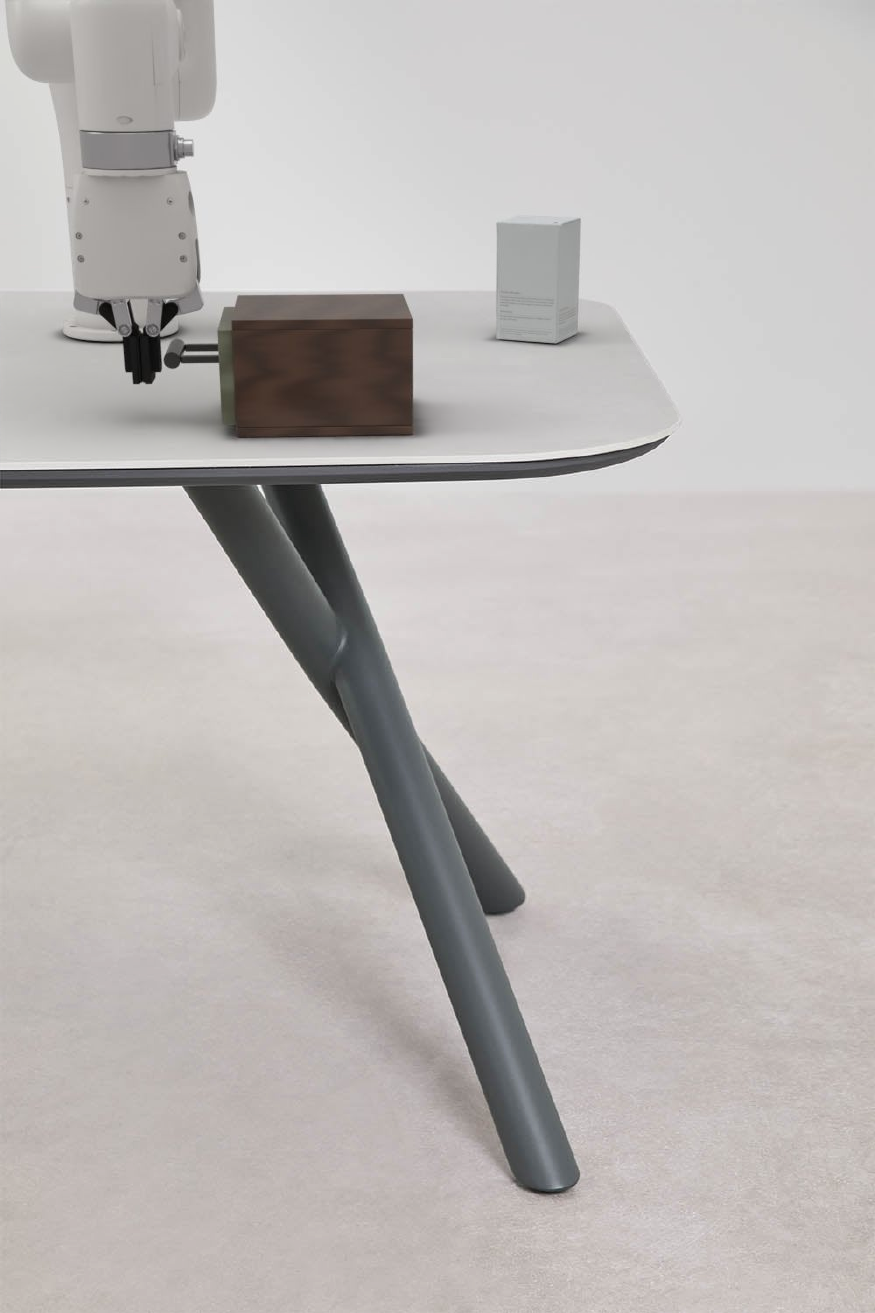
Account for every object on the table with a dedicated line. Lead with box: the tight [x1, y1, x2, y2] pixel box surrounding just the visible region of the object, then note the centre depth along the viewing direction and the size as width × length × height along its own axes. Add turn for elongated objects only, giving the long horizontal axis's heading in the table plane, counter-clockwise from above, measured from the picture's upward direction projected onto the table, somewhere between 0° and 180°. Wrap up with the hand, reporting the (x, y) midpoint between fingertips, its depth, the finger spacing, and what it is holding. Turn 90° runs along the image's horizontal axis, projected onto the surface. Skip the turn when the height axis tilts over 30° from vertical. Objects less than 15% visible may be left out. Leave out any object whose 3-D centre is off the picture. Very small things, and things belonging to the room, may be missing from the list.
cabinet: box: [231, 293, 414, 438], centre depth 128 cm, size 15×13×10 cm
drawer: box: [163, 306, 236, 426], centre depth 128 cm, size 18×11×8 cm, turn 95°
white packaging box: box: [495, 214, 582, 344], centre depth 164 cm, size 7×7×13 cm
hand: (144, 380), depth 127 cm, fingers closed
